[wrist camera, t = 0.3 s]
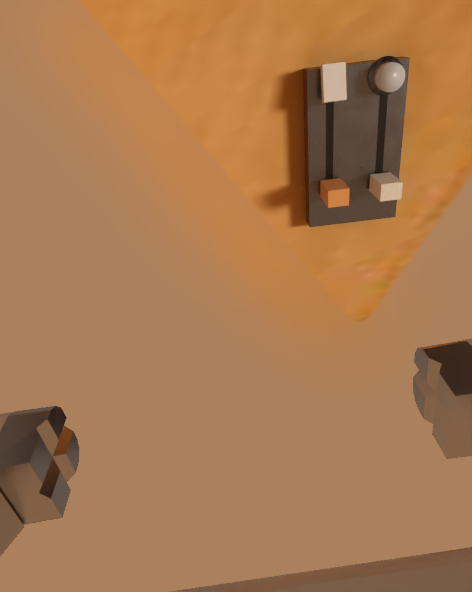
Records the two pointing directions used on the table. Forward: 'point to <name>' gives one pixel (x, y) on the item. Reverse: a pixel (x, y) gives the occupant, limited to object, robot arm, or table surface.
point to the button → (389, 76)
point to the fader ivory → (385, 186)
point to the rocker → (333, 82)
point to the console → (352, 141)
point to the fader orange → (334, 192)
